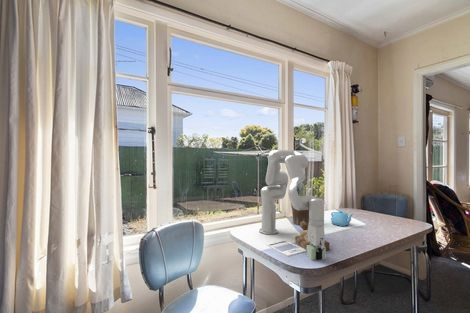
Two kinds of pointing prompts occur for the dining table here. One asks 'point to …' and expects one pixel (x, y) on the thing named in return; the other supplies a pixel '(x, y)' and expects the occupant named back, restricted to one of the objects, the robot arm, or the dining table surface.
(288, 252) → the photo frame
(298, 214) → the plant pot
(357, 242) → the dining table surface
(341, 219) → the teapot
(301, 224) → the lion figurine
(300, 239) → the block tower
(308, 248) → the sage brick
